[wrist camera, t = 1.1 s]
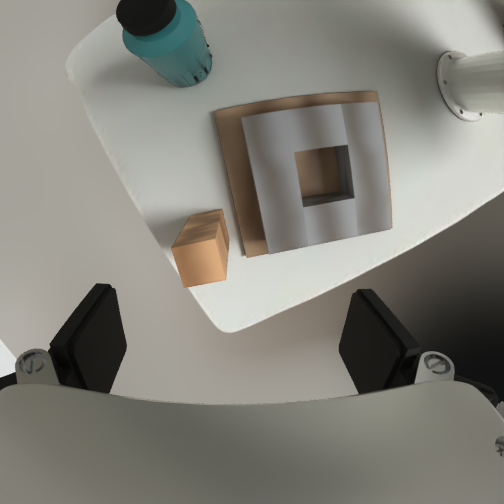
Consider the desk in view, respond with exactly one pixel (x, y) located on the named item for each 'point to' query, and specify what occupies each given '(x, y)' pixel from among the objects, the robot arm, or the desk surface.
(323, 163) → the socket board
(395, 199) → the desk surface
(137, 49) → the beverage bottle
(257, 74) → the desk surface
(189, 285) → the peg
